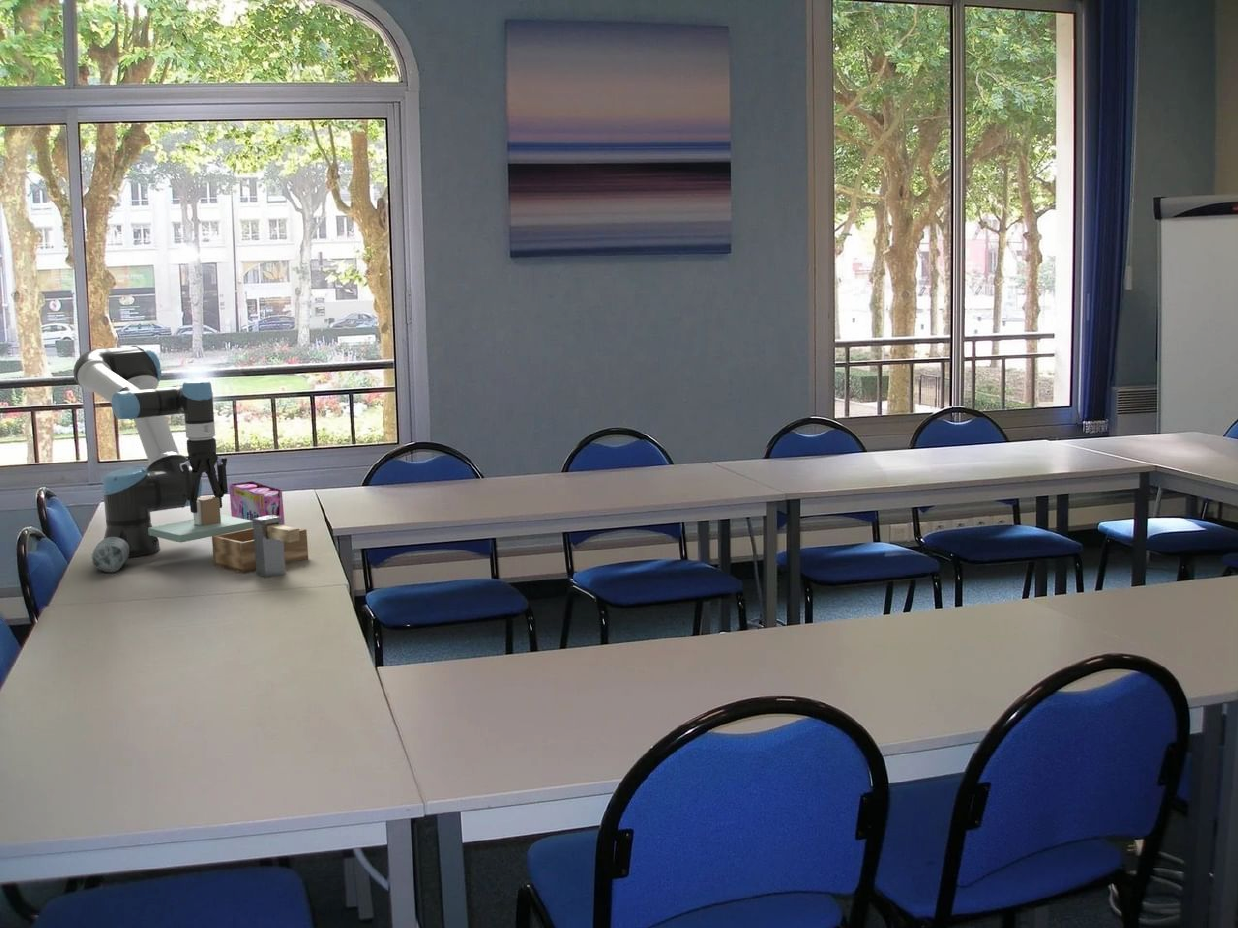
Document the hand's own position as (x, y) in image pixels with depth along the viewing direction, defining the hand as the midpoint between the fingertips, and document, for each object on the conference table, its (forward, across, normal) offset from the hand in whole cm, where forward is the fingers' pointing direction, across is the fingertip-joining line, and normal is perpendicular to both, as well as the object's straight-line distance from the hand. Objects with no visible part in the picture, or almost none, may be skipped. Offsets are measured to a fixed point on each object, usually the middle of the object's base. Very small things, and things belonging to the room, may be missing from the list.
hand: (207, 522), depth 338 cm
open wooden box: (+10, +5, -17) cm, 20 cm away
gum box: (+10, +27, +18) cm, 34 cm away
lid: (+2, -2, 0) cm, 3 cm away
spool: (+10, -23, +10) cm, 27 cm away
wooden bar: (0, -2, -35) cm, 35 cm away
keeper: (+10, -2, -31) cm, 32 cm away
